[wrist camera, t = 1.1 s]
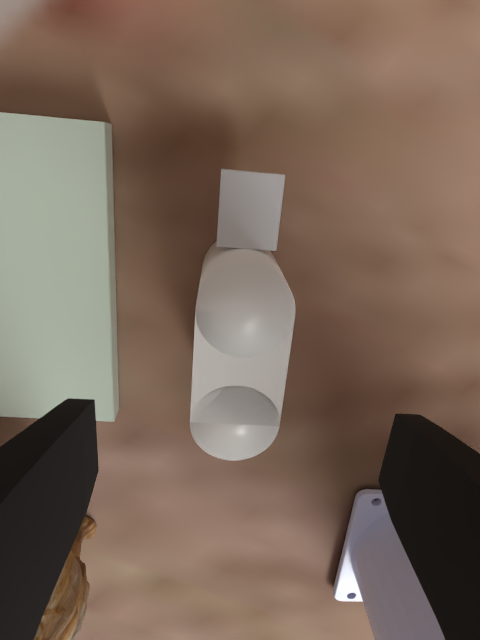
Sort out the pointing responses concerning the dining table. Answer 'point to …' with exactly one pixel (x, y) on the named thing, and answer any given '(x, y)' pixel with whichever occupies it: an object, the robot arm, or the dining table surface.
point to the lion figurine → (68, 594)
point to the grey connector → (242, 322)
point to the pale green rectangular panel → (57, 266)
